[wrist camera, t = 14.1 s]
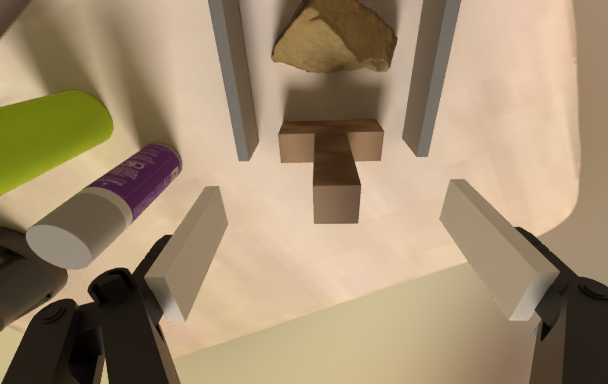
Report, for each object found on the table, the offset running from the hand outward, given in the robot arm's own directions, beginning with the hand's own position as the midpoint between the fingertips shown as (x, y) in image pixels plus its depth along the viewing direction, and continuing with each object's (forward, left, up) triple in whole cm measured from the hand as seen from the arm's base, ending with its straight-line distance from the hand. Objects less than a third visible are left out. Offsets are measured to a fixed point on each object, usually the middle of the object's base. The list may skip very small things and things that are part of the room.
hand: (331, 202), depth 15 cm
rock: (+1, +7, -16) cm, 17 cm away
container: (-20, -4, -16) cm, 25 cm away
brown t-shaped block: (0, -1, -15) cm, 15 cm away
